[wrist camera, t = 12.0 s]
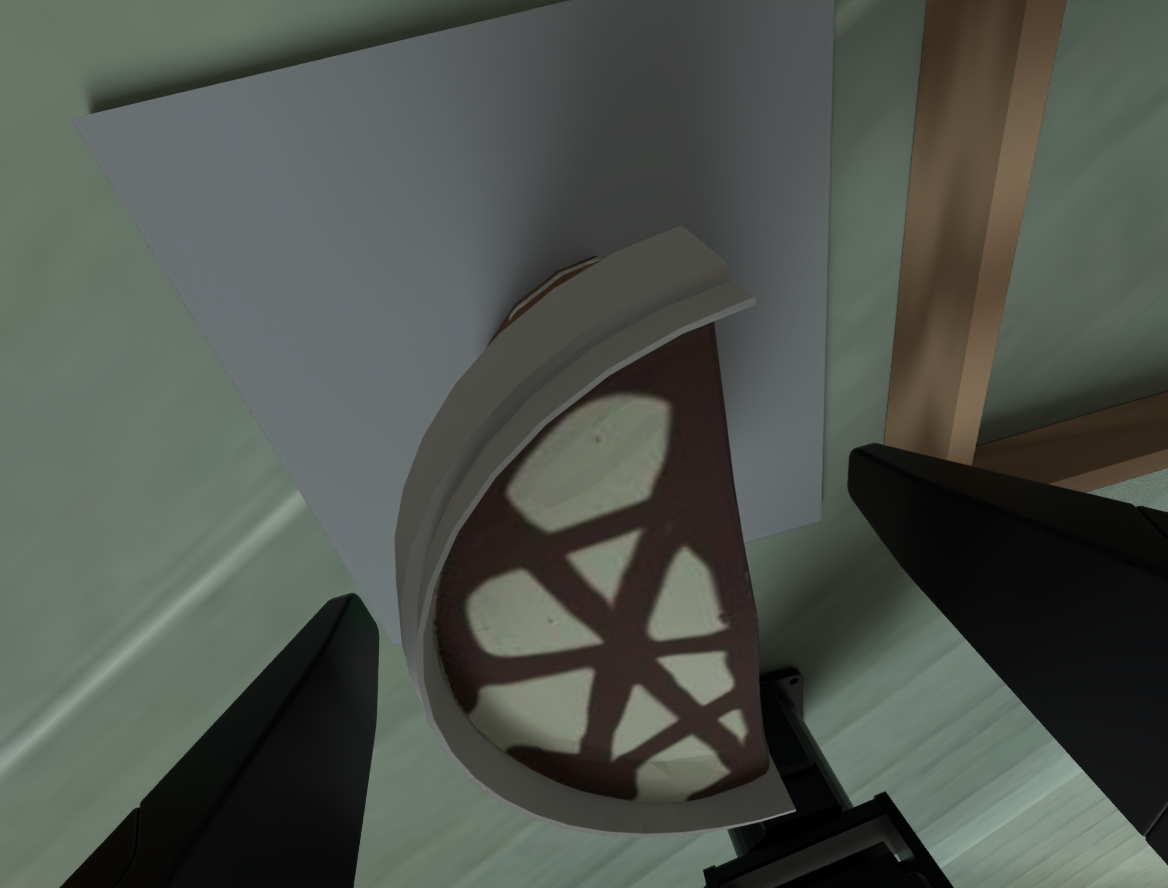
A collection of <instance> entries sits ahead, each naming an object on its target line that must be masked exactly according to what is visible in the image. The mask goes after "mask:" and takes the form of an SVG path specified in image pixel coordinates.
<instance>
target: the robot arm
mask: <svg viewBox="0 0 1168 888" xmlns="http://www.w3.org/2000/svg"><path fill="white" fill-rule="evenodd" d="M847 487H848V492H849V495H850V497H851V499H852V500H853V502H854V503H855V504H856V506H857V507H858V509H859V510H860V511H861V513H862V514H863V515H864V517H865V518H866V520H867V521H868V522H869V524H870V525H871V527H872V528H873V529H874V531H875V532H876V533H877V535H878V536H879V538H880V539H881V540H882V542H883V543H884V544H885V546H886V547H887V549H888V550H889V551H890V553H891V554H892V555H893V557H894V558H895V559H896V561H897V562H898V563H899V565H900V566H901V567H902V568H903V569H904V570H905V572H906V573H907V574H908V575H909V576H910V577H911V579H912V580H913V581H914V582H915V583H916V584H917V585H918V586H919V588H920V589H921V590H922V591H923V592H924V593H925V594H926V595H927V596H928V598H929V599H930V600H931V601H932V602H933V603H934V604H935V605H936V606H937V608H938V609H939V610H940V611H941V612H942V613H943V614H944V615H945V617H946V618H947V619H948V620H949V621H950V622H951V623H952V624H953V625H954V627H955V628H956V629H957V630H958V631H959V632H960V633H961V634H962V636H963V637H964V638H965V639H966V640H967V641H968V642H969V643H970V644H971V646H972V647H973V648H974V649H975V650H976V651H977V652H978V653H979V654H980V656H981V657H982V658H983V659H984V660H985V661H986V662H987V663H988V665H989V666H990V667H991V668H992V669H993V670H994V671H995V672H996V673H997V675H998V676H999V677H1000V678H1001V679H1002V680H1003V681H1004V682H1005V683H1006V685H1007V686H1008V687H1009V688H1010V689H1011V690H1012V691H1013V692H1014V694H1015V695H1016V696H1017V697H1018V698H1019V699H1020V700H1021V701H1022V702H1023V704H1024V705H1025V706H1026V707H1027V708H1028V709H1029V710H1030V711H1031V713H1032V714H1033V715H1034V716H1035V717H1036V718H1037V719H1038V720H1039V721H1040V723H1041V724H1042V725H1043V726H1044V727H1045V728H1046V729H1047V730H1048V731H1049V733H1050V734H1051V735H1052V736H1053V737H1054V738H1055V739H1056V740H1057V742H1058V743H1059V744H1060V745H1061V746H1062V747H1063V748H1064V749H1065V750H1066V752H1067V753H1068V754H1069V755H1070V756H1071V757H1072V758H1073V759H1074V760H1075V762H1076V763H1077V764H1078V765H1079V766H1080V767H1081V768H1082V769H1083V771H1084V772H1085V773H1086V774H1087V775H1088V776H1089V777H1090V778H1091V779H1092V781H1093V782H1094V783H1095V784H1096V785H1097V786H1098V787H1099V788H1100V789H1101V791H1102V792H1103V793H1104V794H1105V795H1106V796H1107V797H1108V798H1109V800H1110V801H1111V802H1112V803H1113V804H1114V805H1115V806H1116V807H1117V808H1118V810H1119V811H1120V812H1121V813H1122V814H1123V815H1124V816H1125V817H1126V819H1127V820H1128V821H1129V822H1130V823H1131V824H1132V825H1133V826H1134V827H1135V829H1136V830H1137V831H1138V832H1139V833H1140V834H1141V835H1142V836H1145V837H1146V838H1145V839H1146V841H1147V843H1148V844H1149V845H1150V846H1151V847H1152V848H1153V849H1154V850H1155V851H1156V853H1157V854H1158V855H1159V856H1160V857H1161V858H1162V859H1163V860H1164V862H1165V863H1166V864H1167V865H1168V512H1164V511H1160V510H1156V509H1152V508H1148V507H1144V506H1137V507H1135V506H1134V505H1133V504H1130V503H1126V502H1122V501H1118V500H1114V499H1109V498H1105V497H1101V496H1097V495H1093V494H1088V493H1084V492H1080V491H1076V490H1072V489H1067V488H1063V487H1059V486H1055V485H1050V484H1046V483H1042V482H1038V481H1034V480H1029V479H1025V478H1021V477H1017V476H1013V475H1008V474H1004V473H1000V472H996V471H991V470H987V469H983V468H979V467H975V466H970V465H966V464H962V463H958V462H954V461H949V460H945V459H941V458H937V457H933V456H928V455H924V454H920V453H916V452H912V451H907V450H903V449H899V448H895V447H891V446H886V445H882V444H878V443H871V444H868V445H864V446H861V447H857V448H854V449H853V450H852V451H851V452H850V454H849V465H848V482H847ZM378 665H379V631H378V627H377V624H376V622H375V621H374V619H373V617H372V616H371V614H370V613H369V611H368V609H367V608H366V606H365V605H364V603H363V601H362V600H361V598H360V597H359V596H358V595H357V594H355V593H349V594H346V595H342V596H339V597H335V598H332V599H330V600H329V601H328V602H327V603H326V604H325V605H324V606H323V607H322V608H321V609H320V610H319V611H318V612H317V613H316V614H315V616H314V617H313V618H312V619H311V620H310V621H309V622H308V623H307V624H306V625H305V626H304V627H303V628H302V629H301V631H300V632H299V633H298V634H297V635H296V636H295V637H294V638H293V639H292V640H291V641H290V642H289V643H288V645H287V646H286V647H285V648H284V649H283V650H282V651H281V652H280V653H279V654H278V655H277V656H276V657H275V658H274V660H273V661H272V662H271V663H270V664H269V665H268V666H267V667H266V668H265V669H264V670H263V671H262V672H261V673H260V675H259V676H258V677H257V678H256V679H255V680H254V681H253V682H252V683H251V684H250V685H249V686H248V687H247V688H246V690H245V691H244V692H243V693H242V694H241V695H240V696H239V697H238V698H237V699H236V700H235V701H234V702H233V703H232V705H231V706H230V707H229V708H228V709H227V710H226V711H225V712H224V713H223V714H222V715H221V716H220V717H219V718H218V720H217V721H216V722H215V723H214V724H213V725H212V726H211V727H210V728H209V729H208V730H207V731H206V732H205V733H204V735H203V736H202V737H201V738H200V739H199V740H198V741H197V742H196V743H195V744H194V745H193V746H192V747H191V748H190V750H189V751H188V752H187V753H186V754H185V755H184V756H183V757H182V758H181V759H180V760H179V761H178V762H177V763H176V765H175V766H174V767H173V768H172V769H171V770H170V771H169V772H168V773H167V774H166V775H165V776H164V777H163V778H162V780H161V781H160V782H159V783H158V784H157V785H156V786H155V787H154V788H153V789H152V790H151V791H150V792H149V793H148V795H147V796H146V797H145V798H144V799H143V800H142V801H141V803H140V808H139V807H138V808H135V809H133V810H132V811H131V813H130V814H129V815H128V816H127V817H126V818H125V819H124V820H123V821H122V822H121V823H120V824H119V826H118V827H117V828H116V829H115V830H114V831H113V832H112V833H111V834H110V835H109V836H108V837H107V838H106V839H105V841H104V842H103V843H102V844H101V845H100V846H99V847H98V848H97V849H96V850H95V851H94V852H93V853H92V854H91V855H90V856H89V857H88V858H87V859H86V860H85V861H84V863H83V864H82V865H81V866H80V867H79V868H78V869H77V870H76V871H75V872H74V873H73V874H72V875H71V876H70V877H69V878H68V879H67V880H66V881H65V882H64V883H63V885H62V886H61V887H60V888H354V881H355V873H356V866H357V859H358V852H359V845H360V838H361V831H362V824H363V817H364V810H365V803H366V795H367V788H368V781H369V774H370V767H371V760H372V753H373V746H374V739H375V730H376V720H377V699H378ZM759 684H760V699H761V709H762V718H763V727H764V733H765V738H766V742H767V744H768V747H769V754H770V756H771V758H772V760H773V762H774V764H775V766H776V768H777V771H778V773H779V775H780V777H781V779H782V781H783V783H784V786H785V788H786V790H787V792H788V794H789V796H790V798H791V800H792V803H793V805H794V807H795V809H796V811H795V812H792V813H788V814H785V815H782V816H778V817H775V818H771V819H768V820H764V821H761V822H757V823H752V824H748V825H744V826H739V827H735V828H731V829H727V830H728V833H729V836H730V838H731V841H732V844H733V846H734V849H735V852H736V855H737V857H738V858H736V859H734V860H731V861H729V862H727V863H724V864H722V865H720V866H717V867H716V866H715V865H713V866H711V867H708V868H706V869H704V870H703V872H704V876H705V880H706V886H705V887H704V888H954V887H953V886H952V885H951V883H950V882H949V880H948V879H947V877H946V876H945V875H944V873H943V872H942V870H941V869H940V868H939V866H938V865H937V863H936V862H935V860H934V859H933V858H932V856H931V855H930V853H929V852H928V851H927V849H926V848H925V846H924V845H923V844H922V842H921V841H920V839H919V838H918V836H917V835H916V834H915V832H914V831H913V829H912V828H911V827H910V825H909V824H908V822H907V821H906V820H905V818H904V817H903V815H902V814H901V812H900V811H899V810H898V808H897V807H896V805H895V804H894V803H893V801H892V800H891V798H890V797H889V796H888V794H887V793H886V792H885V791H884V792H882V793H880V794H877V795H875V796H874V799H873V800H870V801H868V802H866V803H863V804H861V805H859V806H856V807H854V806H853V805H852V803H851V801H850V799H849V798H848V796H847V794H846V792H845V791H844V789H843V787H842V786H841V784H840V782H839V780H838V779H837V777H836V775H835V774H834V772H833V770H832V768H831V767H830V765H829V763H828V762H827V760H826V758H825V756H824V755H823V753H822V751H821V750H820V748H819V746H818V744H817V743H816V741H815V739H814V737H813V736H812V734H811V732H810V731H809V729H808V727H807V725H806V724H805V722H804V720H803V676H802V675H801V673H800V672H799V670H798V669H796V668H791V669H787V670H784V671H781V672H777V673H774V674H771V675H767V676H764V677H761V678H759ZM895 854H897V855H898V857H899V858H900V860H901V861H900V862H898V860H897V859H896V857H895V856H894V855H895Z"/></svg>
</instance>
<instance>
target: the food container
mask: <svg viewBox="0 0 1168 888" xmlns="http://www.w3.org/2000/svg"><path fill="white" fill-rule="evenodd" d="M753 305H756V300H755V296H753V295H751V294H750V293H748V292H746V291H744V290H742V289H741V288H739V287H737V286H735V285H733V284H731V283H730V282H728V268H727V262H726V261H725V260H723V259H722V258H721V257H720V256H719V255H717V254H716V253H715V252H714V251H713V250H711V249H710V248H709V247H708V246H706V245H705V244H704V243H703V242H702V241H700V240H699V239H698V238H697V237H695V236H694V235H693V234H692V233H691V232H689V231H688V230H687V229H686V228H685V227H683V226H682V225H681V226H678V227H676V228H673V229H671V230H668V231H666V232H663V233H661V234H658V235H656V236H653V237H651V238H648V239H646V240H643V241H641V242H639V243H636V244H634V245H631V246H629V247H626V248H624V249H621V250H619V251H616V252H615V253H613V254H611V255H610V256H608V257H606V258H605V257H600V256H593V257H590V258H588V259H585V260H583V261H580V262H578V263H575V264H573V265H570V266H568V267H565V268H563V269H560V270H558V271H556V272H555V273H554V274H553V275H551V276H550V277H549V278H547V279H546V280H545V281H544V282H542V283H541V284H540V285H539V286H537V287H536V288H535V289H533V290H532V291H531V292H530V293H528V294H527V295H526V296H525V297H523V298H522V299H521V300H519V301H518V302H517V303H516V304H515V305H514V306H513V308H512V309H511V311H510V312H509V314H508V315H507V317H506V319H505V320H504V322H503V323H502V325H501V326H500V328H499V329H498V331H497V332H496V334H495V335H494V337H493V338H492V340H491V341H490V343H489V344H488V346H487V348H486V349H485V351H484V352H483V353H482V354H481V355H480V356H479V357H478V359H477V360H476V361H475V362H474V363H473V364H472V365H471V367H470V368H469V369H468V370H467V371H466V372H465V373H464V375H463V376H462V377H461V378H460V379H459V380H458V381H457V383H456V384H455V385H454V387H453V388H452V390H451V392H450V393H449V395H448V397H447V398H446V400H445V401H444V403H443V405H442V406H441V408H440V410H439V411H438V413H437V415H436V416H435V418H434V419H433V421H432V423H431V424H430V426H429V428H428V429H427V431H426V433H425V434H424V436H423V438H422V440H421V443H420V446H419V448H418V451H417V453H416V456H415V459H414V461H413V464H412V466H411V469H410V472H409V474H408V477H407V479H406V482H405V485H404V487H403V491H402V497H401V503H400V509H399V514H398V520H397V526H396V532H395V537H394V540H395V567H396V587H397V597H398V608H399V618H400V628H401V638H402V646H403V650H404V654H405V658H406V661H407V665H408V669H409V673H410V676H411V680H412V684H413V687H414V688H415V690H416V692H417V694H418V696H419V698H420V700H421V701H422V703H423V705H424V709H425V712H426V716H427V720H428V722H429V724H430V726H431V728H432V730H433V731H434V733H435V735H436V737H437V739H438V740H439V742H440V744H441V746H442V748H443V749H444V751H445V753H446V755H447V756H448V757H449V758H450V759H451V760H452V761H453V762H454V764H455V765H456V766H457V767H458V768H459V769H460V770H461V771H462V772H463V773H464V775H465V776H466V777H467V778H468V779H469V780H470V781H471V782H472V783H474V784H475V785H476V786H478V787H479V788H481V789H482V790H483V791H485V792H486V793H487V794H489V795H490V796H492V797H493V798H494V799H496V800H497V801H499V802H500V803H502V804H504V805H506V806H508V807H510V808H512V809H514V810H517V811H519V812H521V813H523V814H525V815H527V816H529V817H531V818H534V819H537V820H540V821H543V822H547V823H550V824H553V825H556V826H560V827H563V828H566V829H571V830H576V831H582V832H588V833H594V834H600V835H608V836H626V837H666V836H684V835H692V834H699V833H707V832H715V831H722V830H726V829H731V828H735V827H739V826H744V825H748V824H752V823H757V822H761V821H764V820H768V819H771V818H775V817H778V816H782V815H785V814H788V813H792V812H795V811H796V809H795V807H794V805H793V803H792V800H791V798H790V796H789V794H788V792H787V790H786V788H785V786H784V783H783V781H782V779H781V777H780V775H779V773H778V771H777V768H776V766H775V764H774V762H773V760H772V758H771V756H770V754H769V747H768V744H767V742H766V738H765V733H764V727H763V718H762V709H761V699H760V684H759V628H758V618H757V612H756V607H755V601H754V595H753V590H752V584H751V579H750V574H749V569H748V563H747V558H746V552H745V546H744V540H743V534H742V528H741V521H740V515H739V509H738V503H737V496H736V490H735V484H734V476H733V468H732V460H731V452H730V444H729V436H728V428H727V420H726V412H725V404H724V396H723V388H722V380H721V372H720V364H719V356H718V348H717V340H716V332H715V324H714V321H716V320H718V319H721V318H723V317H726V316H728V315H731V314H733V313H736V312H738V311H741V310H743V309H746V308H748V307H751V306H753Z"/></svg>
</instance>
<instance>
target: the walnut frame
mask: <svg viewBox="0 0 1168 888" xmlns="http://www.w3.org/2000/svg"><path fill="white" fill-rule="evenodd" d="M1066 1H1067V0H927V7H926V18H925V28H924V38H923V48H922V59H921V69H920V79H919V90H918V100H917V110H916V121H915V131H914V141H913V151H912V162H911V172H910V182H909V193H908V203H907V213H906V224H905V234H904V244H903V254H902V265H901V275H900V285H899V296H898V306H897V316H896V327H895V337H894V347H893V357H892V368H891V378H890V388H889V399H888V409H887V419H886V429H885V440H884V445H886V446H891V447H895V448H899V449H903V450H907V451H912V452H916V453H920V454H924V455H928V456H933V457H937V458H941V459H945V460H949V461H954V462H958V463H962V464H966V465H970V466H975V467H979V468H983V469H987V470H991V471H996V472H1000V473H1004V474H1008V475H1013V476H1017V477H1021V478H1025V479H1029V480H1034V481H1038V482H1042V483H1046V484H1050V485H1055V486H1059V487H1063V488H1067V489H1072V490H1076V491H1080V492H1084V493H1085V492H1089V491H1092V490H1095V489H1099V488H1102V487H1105V486H1109V485H1112V484H1116V483H1119V482H1122V481H1126V480H1129V479H1132V478H1136V477H1139V476H1143V475H1146V474H1149V473H1153V472H1156V471H1159V470H1163V469H1166V468H1168V391H1167V392H1164V393H1160V394H1157V395H1153V396H1150V397H1146V398H1143V399H1140V400H1136V401H1133V402H1129V403H1126V404H1122V405H1119V406H1115V407H1112V408H1108V409H1105V410H1101V411H1098V412H1095V413H1091V414H1088V415H1084V416H1081V417H1077V418H1074V419H1070V420H1067V421H1063V422H1060V423H1056V424H1053V425H1050V426H1046V427H1043V428H1039V429H1036V430H1032V431H1029V432H1025V433H1022V434H1018V435H1015V436H1011V437H1008V438H1005V439H1001V440H998V441H994V442H991V443H987V444H984V445H980V446H977V447H976V442H977V437H978V432H979V427H980V422H981V417H982V412H983V408H984V403H985V398H986V393H987V388H988V383H989V378H990V373H991V368H992V363H993V359H994V354H995V349H996V344H997V339H998V334H999V329H1000V324H1001V319H1002V314H1003V309H1004V305H1005V300H1006V295H1007V290H1008V285H1009V280H1010V275H1011V270H1012V265H1013V260H1014V256H1015V251H1016V246H1017V241H1018V236H1019V231H1020V226H1021V221H1022V216H1023V211H1024V207H1025V202H1026V197H1027V192H1028V187H1029V182H1030V177H1031V172H1032V167H1033V162H1034V157H1035V153H1036V148H1037V143H1038V138H1039V133H1040V128H1041V123H1042V118H1043V113H1044V108H1045V104H1046V99H1047V94H1048V89H1049V84H1050V79H1051V74H1052V69H1053V64H1054V59H1055V54H1056V50H1057V45H1058V40H1059V35H1060V30H1061V25H1062V20H1063V15H1064V10H1065V5H1066Z"/></svg>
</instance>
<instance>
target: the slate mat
mask: <svg viewBox="0 0 1168 888" xmlns="http://www.w3.org/2000/svg"><path fill="white" fill-rule="evenodd" d="M834 14H835V0H569V1H565V2H560V3H556V4H552V5H548V6H544V7H539V8H535V9H531V10H527V11H522V12H518V13H514V14H510V15H506V16H501V17H497V18H493V19H489V20H485V21H480V22H476V23H472V24H468V25H464V26H459V27H455V28H451V29H447V30H442V31H438V32H434V33H430V34H426V35H421V36H417V37H413V38H409V39H405V40H400V41H396V42H392V43H388V44H384V45H379V46H375V47H371V48H367V49H362V50H358V51H354V52H350V53H346V54H341V55H337V56H333V57H329V58H325V59H320V60H316V61H312V62H308V63H303V64H299V65H295V66H291V67H287V68H282V69H278V70H274V71H270V72H266V73H261V74H257V75H253V76H249V77H245V78H240V79H236V80H232V81H228V82H223V83H219V84H215V85H211V86H207V87H202V88H198V89H194V90H190V91H186V92H181V93H177V94H173V95H169V96H164V97H160V98H156V99H152V100H148V101H143V102H139V103H135V104H131V105H127V106H122V107H118V108H114V109H110V110H106V111H101V112H97V113H93V114H89V115H84V116H80V117H76V118H72V119H71V121H72V123H73V124H74V126H75V127H76V129H77V131H78V132H79V134H80V136H81V137H82V139H83V140H84V142H85V144H86V145H87V147H88V149H89V150H90V152H91V153H92V155H93V157H94V158H95V160H96V162H97V163H98V165H99V166H100V168H101V170H102V171H103V173H104V175H105V176H106V178H107V179H108V181H109V183H110V184H111V186H112V188H113V189H114V191H115V192H116V194H117V196H118V197H119V199H120V201H121V202H122V204H123V205H124V207H125V209H126V210H127V212H128V214H129V215H130V217H131V218H132V220H133V222H134V223H135V225H136V227H137V228H138V230H139V231H140V233H141V235H142V236H143V238H144V240H145V241H146V243H147V244H148V246H149V248H150V249H151V251H152V253H153V254H154V256H155V257H156V259H157V261H158V262H159V264H160V266H161V267H162V269H163V270H164V272H165V274H166V275H167V277H168V279H169V280H170V282H171V283H172V285H173V287H174V288H175V290H176V292H177V293H178V295H179V296H180V298H181V300H182V301H183V303H184V305H185V306H186V308H187V309H188V311H189V313H190V314H191V316H192V318H193V319H194V321H195V322H196V324H197V326H198V327H199V329H200V331H201V332H202V334H203V335H204V337H205V339H206V340H207V342H208V343H209V345H210V347H211V348H212V350H213V352H214V353H215V355H216V356H217V358H218V360H219V361H220V363H221V365H222V366H223V368H224V369H225V371H226V373H227V374H228V376H229V378H230V379H231V381H232V382H233V384H234V386H235V387H236V389H237V391H238V392H239V394H240V395H241V397H242V399H243V400H244V402H245V404H246V405H247V407H248V408H249V410H250V412H251V413H252V415H253V417H254V418H255V420H256V421H257V423H258V425H259V426H260V428H261V430H262V431H263V433H264V434H265V436H266V438H267V439H268V441H269V443H270V444H271V446H272V447H273V449H274V451H275V452H276V454H277V456H278V457H279V459H280V460H281V462H282V464H283V465H284V467H285V469H286V470H287V472H288V473H289V475H290V477H291V478H292V480H293V482H294V483H295V485H296V486H297V488H298V490H299V491H300V493H301V495H302V496H303V498H304V499H305V501H306V503H307V504H308V506H309V508H310V509H311V511H312V512H313V514H314V516H315V517H316V519H317V521H318V522H319V524H320V525H321V527H322V529H323V530H324V532H325V534H326V535H327V537H328V538H329V540H330V542H331V543H332V545H333V547H334V548H335V550H336V551H337V553H338V555H339V556H340V558H341V560H342V561H343V563H344V564H345V566H346V568H347V569H348V571H349V573H350V574H351V576H352V577H353V579H354V581H355V582H356V584H357V586H358V587H359V589H360V590H361V592H362V594H363V595H364V597H365V599H366V600H367V602H368V603H369V605H370V607H371V608H372V610H373V612H374V613H375V615H376V616H377V618H378V620H379V621H380V623H381V625H382V626H383V628H384V629H385V631H386V633H387V634H388V636H389V638H390V639H391V641H392V642H393V644H394V645H398V644H401V643H402V638H401V628H400V618H399V608H398V597H397V587H396V567H395V540H394V537H395V532H396V526H397V520H398V514H399V509H400V503H401V497H402V491H403V487H404V485H405V482H406V479H407V477H408V474H409V472H410V469H411V466H412V464H413V461H414V459H415V456H416V453H417V451H418V448H419V446H420V443H421V440H422V438H423V436H424V434H425V433H426V431H427V429H428V428H429V426H430V424H431V423H432V421H433V419H434V418H435V416H436V415H437V413H438V411H439V410H440V408H441V406H442V405H443V403H444V401H445V400H446V398H447V397H448V395H449V393H450V392H451V390H452V388H453V387H454V385H455V384H456V383H457V381H458V380H459V379H460V378H461V377H462V376H463V375H464V373H465V372H466V371H467V370H468V369H469V368H470V367H471V365H472V364H473V363H474V362H475V361H476V360H477V359H478V357H479V356H480V355H481V354H482V353H483V352H484V351H485V349H486V348H487V346H488V344H489V343H490V341H491V340H492V338H493V337H494V335H495V334H496V332H497V331H498V329H499V328H500V326H501V325H502V323H503V322H504V320H505V319H506V317H507V315H508V314H509V312H510V311H511V309H512V308H513V306H514V305H515V304H516V303H517V302H518V301H519V300H521V299H522V298H523V297H525V296H526V295H527V294H528V293H530V292H531V291H532V290H533V289H535V288H536V287H537V286H539V285H540V284H541V283H542V282H544V281H545V280H546V279H547V278H549V277H550V276H551V275H553V274H554V273H555V272H556V271H558V270H560V269H563V268H565V267H568V266H570V265H573V264H575V263H578V262H580V261H583V260H585V259H588V258H590V257H593V256H600V257H605V258H606V257H608V256H610V255H611V254H613V253H615V252H616V251H619V250H621V249H624V248H626V247H629V246H631V245H634V244H636V243H639V242H641V241H643V240H646V239H648V238H651V237H653V236H656V235H658V234H661V233H663V232H666V231H668V230H671V229H673V228H676V227H678V226H681V225H682V226H683V227H685V228H686V229H687V230H688V231H689V232H691V233H692V234H693V235H694V236H695V237H697V238H698V239H699V240H700V241H702V242H703V243H704V244H705V245H706V246H708V247H709V248H710V249H711V250H713V251H714V252H715V253H716V254H717V255H719V256H720V257H721V258H722V259H723V260H725V261H726V262H727V268H728V282H730V283H731V284H733V285H735V286H737V287H739V288H741V289H742V290H744V291H746V292H748V293H750V294H751V295H753V296H755V300H756V305H753V306H751V307H748V308H746V309H743V310H741V311H738V312H736V313H733V314H731V315H728V316H726V317H723V318H721V319H718V320H716V321H714V324H715V332H716V340H717V348H718V356H719V364H720V372H721V380H722V388H723V396H724V404H725V412H726V420H727V428H728V436H729V444H730V452H731V460H732V468H733V476H734V484H735V490H736V496H737V503H738V509H739V515H740V521H741V528H742V534H743V540H744V543H747V542H751V541H754V540H758V539H761V538H765V537H768V536H771V535H775V534H778V533H782V532H785V531H789V530H792V529H795V528H799V527H802V526H806V525H809V524H813V523H816V522H819V521H821V507H822V469H823V431H824V394H825V356H826V318H827V280H828V242H829V204H830V166H831V128H832V90H833V52H834Z"/></svg>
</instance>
